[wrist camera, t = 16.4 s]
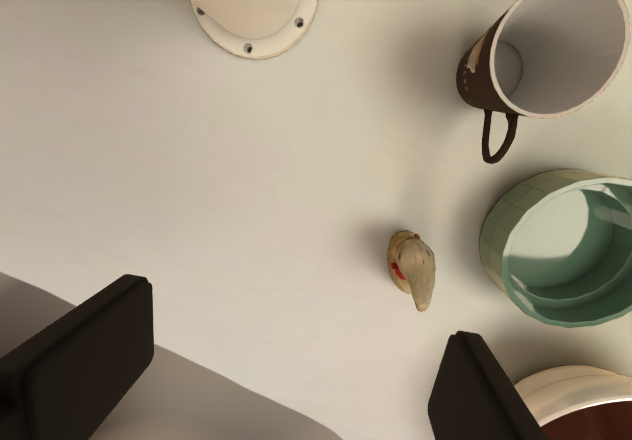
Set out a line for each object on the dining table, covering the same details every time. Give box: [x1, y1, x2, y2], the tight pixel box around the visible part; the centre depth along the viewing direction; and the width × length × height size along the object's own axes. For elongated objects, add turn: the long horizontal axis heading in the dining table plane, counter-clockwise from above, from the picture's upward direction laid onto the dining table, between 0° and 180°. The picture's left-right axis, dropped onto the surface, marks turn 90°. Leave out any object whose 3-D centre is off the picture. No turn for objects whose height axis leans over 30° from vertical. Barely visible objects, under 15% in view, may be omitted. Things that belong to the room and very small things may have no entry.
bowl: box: [480, 169, 632, 328], centre depth 32 cm, size 15×15×6 cm
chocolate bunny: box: [387, 231, 436, 312], centre depth 32 cm, size 6×8×10 cm
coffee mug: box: [456, 0, 630, 164], centre depth 26 cm, size 12×9×10 cm
